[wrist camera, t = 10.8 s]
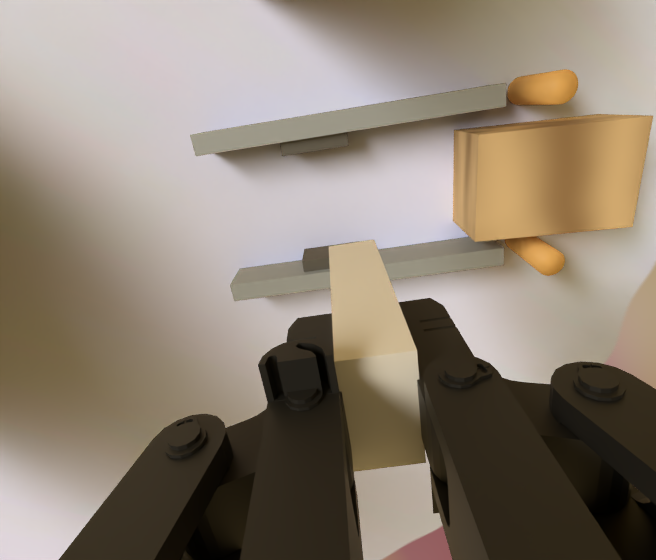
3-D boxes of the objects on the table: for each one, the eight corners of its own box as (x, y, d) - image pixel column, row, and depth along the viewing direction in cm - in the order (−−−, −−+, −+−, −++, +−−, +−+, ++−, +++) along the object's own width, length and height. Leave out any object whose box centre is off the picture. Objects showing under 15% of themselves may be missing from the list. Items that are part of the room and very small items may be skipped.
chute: (243, 286, 31) (228, 317, 26) (204, 128, 26) (176, 133, 22) (527, 247, 29) (563, 273, 25) (534, 74, 25) (579, 67, 20)
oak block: (452, 220, 29) (475, 241, 24) (453, 130, 27) (478, 134, 22) (583, 207, 28) (632, 226, 24) (596, 114, 26) (653, 115, 21)
